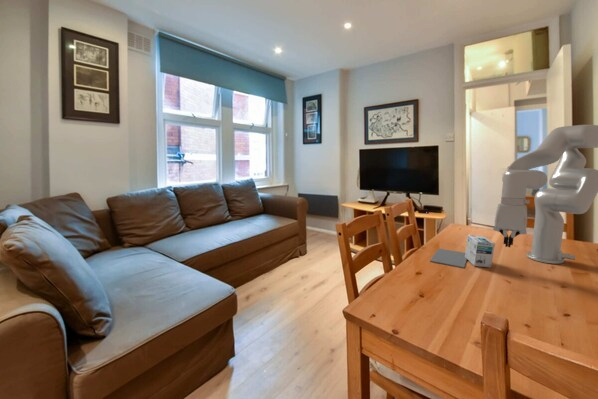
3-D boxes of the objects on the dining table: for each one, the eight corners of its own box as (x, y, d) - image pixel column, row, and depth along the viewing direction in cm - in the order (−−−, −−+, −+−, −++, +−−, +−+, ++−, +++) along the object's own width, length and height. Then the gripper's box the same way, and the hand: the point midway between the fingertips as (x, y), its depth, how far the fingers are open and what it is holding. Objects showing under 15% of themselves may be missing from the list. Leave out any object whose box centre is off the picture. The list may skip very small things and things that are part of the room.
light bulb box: (491, 268, 113) (495, 243, 111) (473, 266, 114) (477, 241, 112) (480, 258, 123) (483, 235, 122) (463, 256, 125) (467, 234, 123)
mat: (468, 254, 129) (468, 253, 129) (463, 268, 113) (463, 267, 113) (438, 249, 137) (438, 248, 137) (429, 261, 121) (429, 260, 121)
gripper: (536, 202, 108) (530, 247, 110) (490, 199, 116) (486, 240, 119) (538, 204, 102) (532, 252, 104) (489, 201, 110) (485, 245, 113)
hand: (507, 246), depth 112 cm, fingers closed
